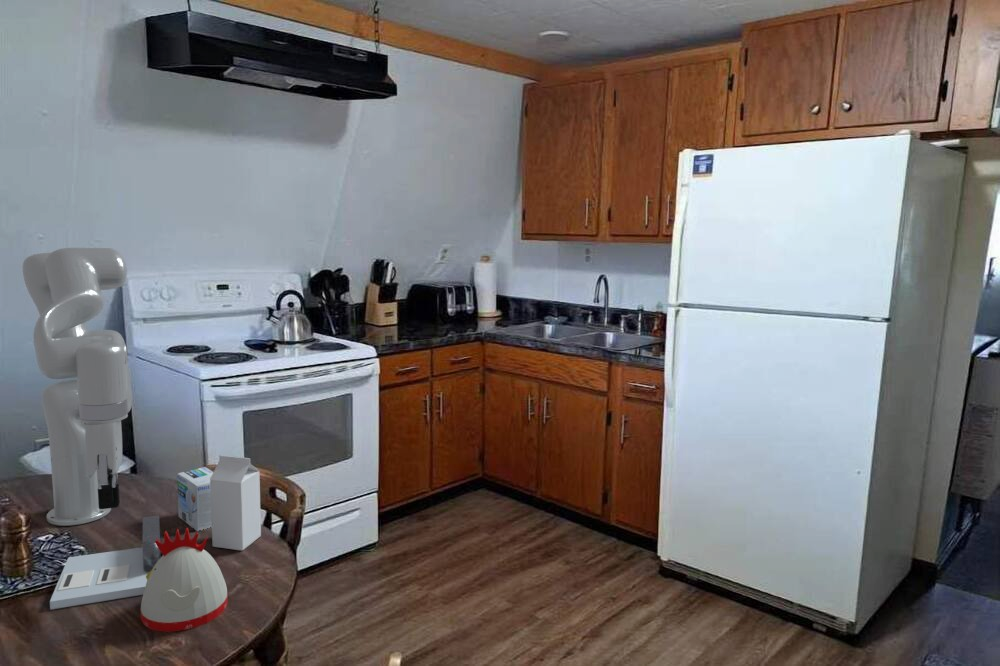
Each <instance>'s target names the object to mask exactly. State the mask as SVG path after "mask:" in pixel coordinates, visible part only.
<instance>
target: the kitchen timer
mask: <svg viewBox="0 0 1000 666" xmlns="http://www.w3.org/2000/svg"><path fill="white" fill-rule="evenodd" d="M189 531H190V530H189V528H188V527H186V529H185V532H184V537H183V539H182V538H181V536H180V530H179V528H177V529H176V533H175V537H174V540H171V538H170V536H169V534H168V531H167V530H165V531H164V535H163V537H164V539H163V542H161V540H160V541H158V540H157V539H156V540H155V543H156V545H157V547H158V548H159V550H160V551H161V554H162V556H161V558H160V559H159V560H158V562H156V564H155V566H154V567H153V569H152V570H151V571H150V572H149V573H148V574H147V575H146V578H147V583H146V586H145V590H144V593H143V595H142V599H141V603H140V620H141V622H142V624H143V625H144V626H146V627H147V628H148V629H150V630H155V631H157V632H171V631H172V632H181V631H180V630H182V631H186V630H190V628H191V629H194V628H197V627H200V626H203V625H204V624H208V623H209V622H212V621H213V620H214V619H216V618H218V617H219V616H220V615H221V614H222V613H224V611H225V610H226V608H227V606H228V587H227V584H226V580H225V578H224V576H223V573H222V570H221V568H220V567H219V564H218V563H217V561H216V560H215V559H214V557H213V556H212V555H211V554H210V553H209V552H208V551H207V550H205V546H206V545H207V541H208V537H205V539H203V541H202V542H201V544H198V543H197V542H198V537H199V531H196V533H195V535H194V536H193V537H192V538H191V536H190V532H189ZM224 609H225V610H224ZM172 632H171V633H172Z"/></svg>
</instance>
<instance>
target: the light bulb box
mask: <svg viewBox="0 0 1000 666" xmlns="http://www.w3.org/2000/svg"><path fill="white" fill-rule="evenodd" d="M213 472H214V471H212V470H211V469H209V468H208V467H206V466H203V467H199V468H196V469H191V470H187V471H182V472H178V473H176V476H177V477H176V478H177V479H176V480H177V503H178V504H177V506H178V508H177V509H178V518H179V519H180V520H182V521H183V522H184V523H186V524H187V525H189V527H191V528H192V529H193V528H194V530H195V532H200V531H199V530H201V531H204V530H207V528H208V529H211V528H212V517H211V489H210V478H211V476H212V474H213ZM210 527H211V528H210ZM203 529H204V530H203Z"/></svg>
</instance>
